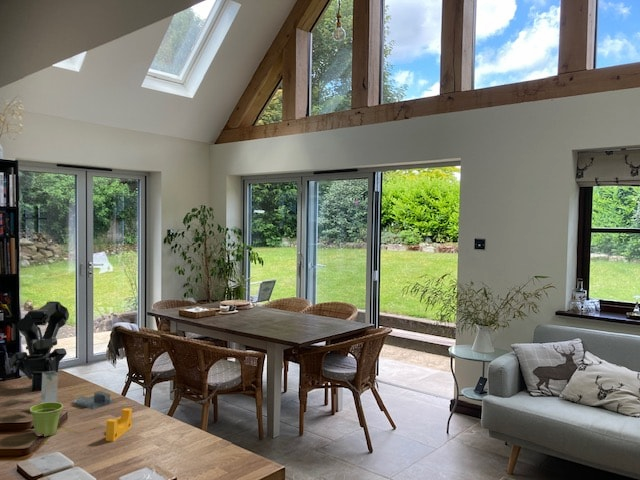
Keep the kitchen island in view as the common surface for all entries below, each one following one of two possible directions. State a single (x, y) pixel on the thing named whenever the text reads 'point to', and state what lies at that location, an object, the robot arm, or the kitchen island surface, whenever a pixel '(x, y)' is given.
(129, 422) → the pipe clamp
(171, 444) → the kitchen island surface
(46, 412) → the plant pot
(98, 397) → the vise
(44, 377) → the grey upright block
